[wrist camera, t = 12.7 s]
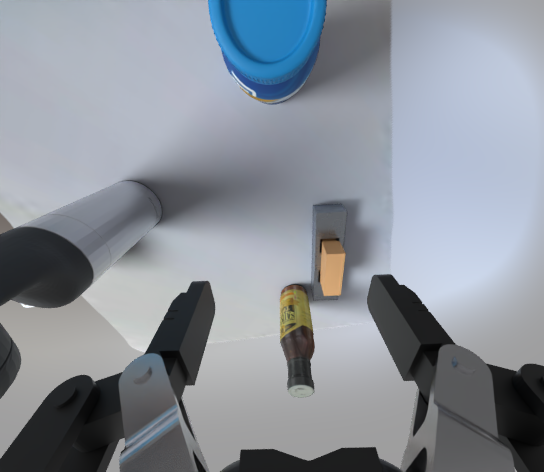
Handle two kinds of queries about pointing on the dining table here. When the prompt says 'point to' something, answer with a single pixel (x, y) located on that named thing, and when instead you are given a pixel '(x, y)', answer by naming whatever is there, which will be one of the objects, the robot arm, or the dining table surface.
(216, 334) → the dining table surface
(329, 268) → the orange block
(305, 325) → the sauce bottle
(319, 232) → the rail
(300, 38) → the nutrition drink bottle
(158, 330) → the robot arm
